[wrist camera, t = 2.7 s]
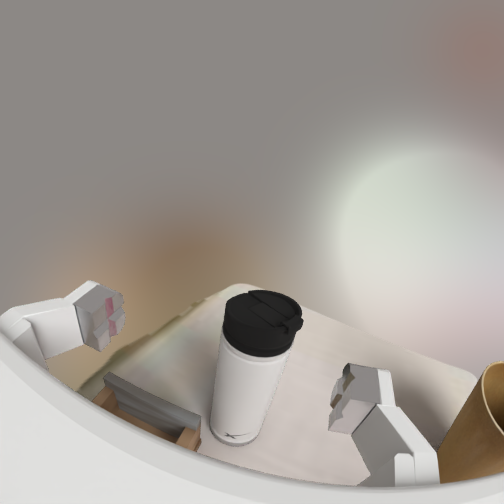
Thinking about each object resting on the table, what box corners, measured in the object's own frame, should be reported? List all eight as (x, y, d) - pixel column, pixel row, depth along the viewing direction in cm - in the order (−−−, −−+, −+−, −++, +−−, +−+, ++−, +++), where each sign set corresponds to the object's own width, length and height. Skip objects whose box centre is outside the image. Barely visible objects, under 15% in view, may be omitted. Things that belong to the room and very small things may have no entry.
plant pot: (419, 422, 32) (478, 347, 26) (483, 445, 25) (545, 377, 19) (395, 500, 21) (483, 435, 14) (473, 518, 14) (560, 456, 7)
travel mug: (233, 457, 27) (269, 341, 18) (199, 421, 31) (210, 292, 22) (271, 431, 31) (322, 310, 23) (237, 400, 35) (265, 274, 27)
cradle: (158, 520, 17) (150, 510, 14) (66, 464, 19) (44, 439, 17) (201, 443, 28) (203, 416, 25) (117, 402, 30) (107, 370, 27)
